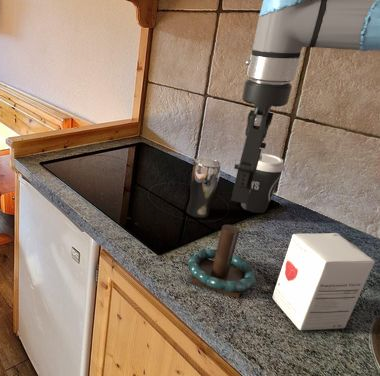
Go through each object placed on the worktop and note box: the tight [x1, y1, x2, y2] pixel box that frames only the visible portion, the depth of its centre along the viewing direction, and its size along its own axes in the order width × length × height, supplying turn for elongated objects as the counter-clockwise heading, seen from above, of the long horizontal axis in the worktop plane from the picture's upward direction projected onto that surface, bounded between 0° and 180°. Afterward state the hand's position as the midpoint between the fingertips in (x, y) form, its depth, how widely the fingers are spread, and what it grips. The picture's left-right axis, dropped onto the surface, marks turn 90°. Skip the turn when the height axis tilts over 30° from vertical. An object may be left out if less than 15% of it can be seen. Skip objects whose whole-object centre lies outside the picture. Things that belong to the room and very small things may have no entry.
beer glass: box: [185, 157, 222, 219], centre depth 108 cm, size 7×7×15 cm
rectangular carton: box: [271, 232, 376, 331], centre depth 73 cm, size 9×9×15 cm
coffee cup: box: [240, 152, 286, 214], centre depth 112 cm, size 10×10×15 cm
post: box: [191, 224, 245, 299], centre depth 82 cm, size 9×9×12 cm
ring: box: [187, 249, 257, 292], centre depth 84 cm, size 13×13×2 cm
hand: (243, 188), depth 81 cm, fingers open, 13 cm apart
